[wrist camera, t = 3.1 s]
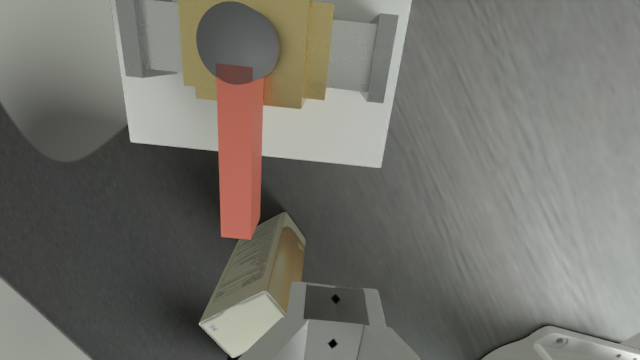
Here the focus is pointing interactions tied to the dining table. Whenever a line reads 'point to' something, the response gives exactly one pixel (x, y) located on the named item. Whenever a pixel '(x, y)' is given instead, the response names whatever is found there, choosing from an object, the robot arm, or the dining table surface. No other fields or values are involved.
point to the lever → (238, 105)
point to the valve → (295, 57)
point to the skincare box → (255, 285)
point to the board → (278, 122)
